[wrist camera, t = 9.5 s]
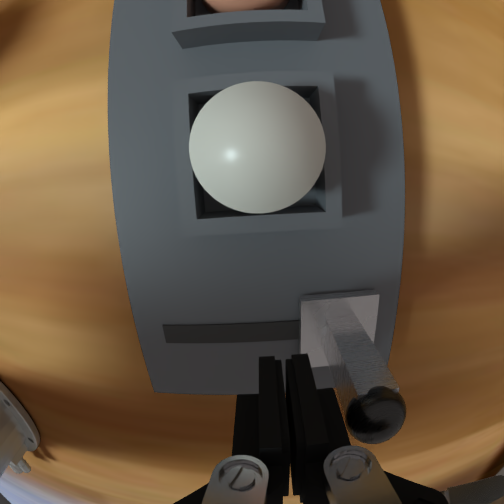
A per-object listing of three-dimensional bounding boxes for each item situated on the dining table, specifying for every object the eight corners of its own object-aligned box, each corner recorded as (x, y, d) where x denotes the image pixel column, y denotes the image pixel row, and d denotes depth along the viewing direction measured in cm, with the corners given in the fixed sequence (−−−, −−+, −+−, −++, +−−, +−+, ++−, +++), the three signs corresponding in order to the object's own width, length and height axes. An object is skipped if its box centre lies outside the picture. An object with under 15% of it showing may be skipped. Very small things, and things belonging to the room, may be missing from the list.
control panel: (371, 356, 17) (395, 400, 13) (165, 367, 18) (145, 414, 13) (352, -28, 11) (374, -67, 7) (134, -14, 11) (107, -50, 7)
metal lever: (367, 353, 14) (419, 454, 7) (298, 361, 14) (320, 476, 7) (375, 289, 13) (452, 379, 6) (299, 295, 13) (332, 405, 7)
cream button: (315, 203, 11) (328, 210, 9) (205, 209, 11) (194, 218, 9) (309, 95, 10) (320, 80, 8) (198, 102, 10) (185, 88, 8)
